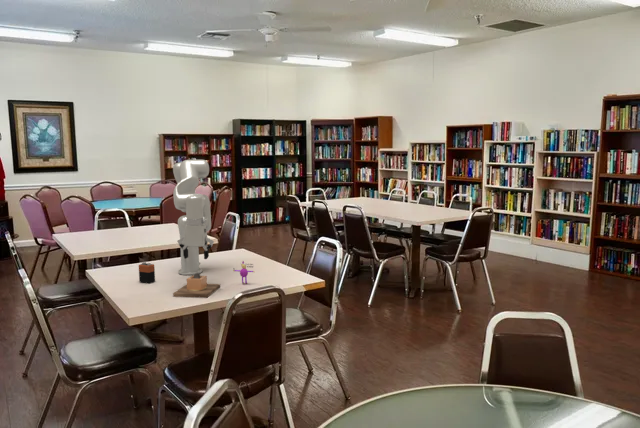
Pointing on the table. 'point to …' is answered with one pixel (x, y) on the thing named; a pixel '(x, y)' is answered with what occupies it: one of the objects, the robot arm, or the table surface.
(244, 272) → the wizard figurine
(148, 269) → the battery
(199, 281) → the tan square box
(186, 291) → the post base
